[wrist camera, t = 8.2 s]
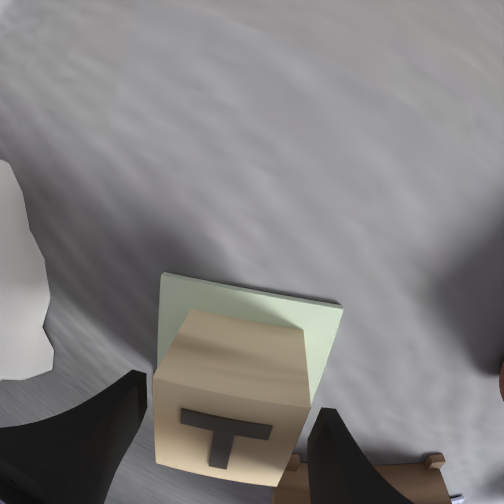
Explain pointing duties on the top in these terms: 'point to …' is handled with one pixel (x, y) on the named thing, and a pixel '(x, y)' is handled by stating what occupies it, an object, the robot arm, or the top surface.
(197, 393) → the letter cube
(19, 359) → the figurine
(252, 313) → the pad
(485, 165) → the top surface
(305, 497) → the brown piece
